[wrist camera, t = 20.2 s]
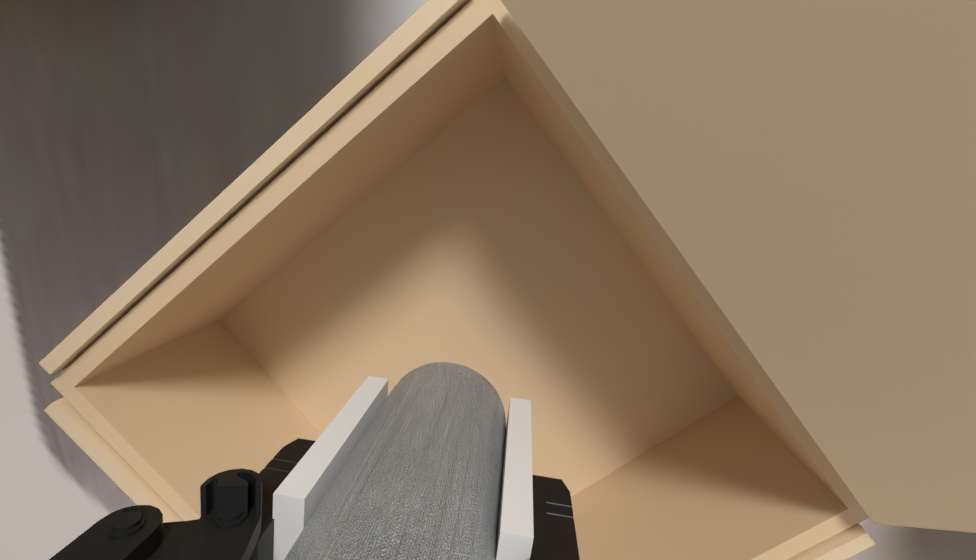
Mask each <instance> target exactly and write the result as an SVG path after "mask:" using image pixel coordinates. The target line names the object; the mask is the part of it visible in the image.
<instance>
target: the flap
mask: <svg viewBox="0 0 976 560" xmlns="http://www.w3.org/2000/svg"><path fill="white" fill-rule="evenodd" d="M501 2H502V3H503V5H504V6H505V7H506V9H507V10H508V12H509V13H510V14H511V16H512V17H513V19H514V20H515V21H516V23H517V24H518V26H519V27H520V28H521V30H522V31H523V33H524V34H525V35H526V37H527V38H528V40H529V41H530V42H531V44H532V45H533V47H534V48H535V49H536V51H537V52H538V54H539V55H540V57H541V58H542V59H543V61H544V62H545V64H546V65H547V66H548V68H549V69H550V71H551V72H552V73H553V75H554V76H555V78H556V79H557V80H558V82H559V83H560V85H561V86H562V87H563V89H564V90H565V92H566V93H567V94H568V96H569V97H570V99H571V100H572V101H573V103H574V104H575V106H576V107H577V108H578V110H579V111H580V113H581V114H582V115H583V117H584V118H585V120H586V121H587V122H588V124H589V125H590V127H591V128H592V129H593V131H594V132H595V134H596V135H597V136H598V138H599V139H600V141H601V142H602V143H603V145H604V146H605V148H606V149H607V150H608V152H609V153H610V155H611V156H612V157H613V159H614V160H615V162H616V163H617V164H618V166H619V167H620V169H621V170H622V171H623V173H624V174H625V176H626V177H627V179H628V180H629V181H630V183H631V184H632V186H633V187H634V188H635V190H636V191H637V193H638V194H639V195H640V197H641V198H642V200H643V201H644V202H645V204H646V205H647V207H648V208H649V209H650V211H651V212H652V214H653V215H654V216H655V218H656V219H657V221H658V222H659V223H660V225H661V226H662V228H663V229H664V230H665V232H666V233H667V235H668V236H669V237H670V239H671V240H672V242H673V243H674V244H675V246H676V247H677V249H678V250H679V251H680V253H681V254H682V256H683V257H684V258H685V260H686V261H687V263H688V264H689V265H690V267H691V268H692V270H693V271H694V272H695V274H696V275H697V277H698V278H699V279H700V281H701V282H702V284H703V285H704V286H705V288H706V289H707V291H708V292H709V294H710V295H711V296H712V298H713V299H714V301H715V302H716V303H717V305H718V306H719V308H720V309H721V310H722V312H723V313H724V315H725V316H726V317H727V319H728V320H729V322H730V323H731V324H732V326H733V327H734V329H735V330H736V331H737V333H738V334H739V336H740V337H741V338H742V340H743V341H744V343H745V344H746V345H747V347H748V348H749V350H750V351H751V352H752V354H753V355H754V357H755V358H756V359H757V361H758V362H759V364H760V365H761V366H762V368H763V369H764V371H765V372H766V373H767V375H768V376H769V378H770V379H771V380H772V382H773V383H774V385H775V386H776V387H777V389H778V390H779V392H780V393H781V394H782V396H783V397H784V399H785V400H786V401H787V403H788V404H789V406H790V407H791V408H792V410H793V411H794V413H795V414H796V416H797V417H798V418H799V420H800V421H801V423H802V424H803V425H804V427H805V428H806V430H807V431H808V432H809V434H810V435H811V437H812V438H813V439H814V441H815V442H816V444H817V445H818V446H819V448H820V449H821V451H822V452H823V453H824V455H825V456H826V458H827V459H828V460H829V462H830V463H831V465H832V466H833V467H834V469H835V470H836V472H837V473H838V474H839V476H840V477H841V479H842V480H843V481H844V483H845V484H846V486H847V487H848V488H849V490H850V491H851V493H852V494H853V495H854V497H855V498H856V500H857V501H858V502H859V504H860V505H861V507H862V508H863V509H864V511H865V512H866V514H867V515H868V516H869V518H870V519H871V521H872V522H873V523H874V524H882V525H893V526H904V527H916V528H927V529H938V530H949V531H960V532H971V533H976V0H501Z"/></svg>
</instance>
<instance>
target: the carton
mask: <svg viewBox="0 0 976 560" xmlns="http://www.w3.org/2000/svg"><path fill="white" fill-rule="evenodd" d="M435 362H450V363H456V364H460V365H463V366H466V367H469V368H471V369H473V370H475V371H476V372H478V373H480V374H481V375H482V376H484V377H485V378H486V379H487V380H488V381H489V382H490V383H491V384H492V385H493V386H494V388H495V389H496V391H497V392H498V394H499V396H500V398H501V400H502V403H503V406H504V410H505V418H506V424H507V417H508V410H509V403H510V397H512V398H518V399H525V400H531V430H532V475H538V476H544V477H550V478H556V479H562V481H563V482H564V484H565V485H566V487H567V488H568V490H569V491H570V495H571V502H572V509H573V519H574V523H575V530H576V537H577V544H578V551H579V559H580V560H845V559H847V558H849V557H851V556H853V555H855V554H857V553H859V552H861V551H863V550H865V549H867V548H869V547H871V546H873V545H875V542H874V541H873V540H872V538H871V537H870V535H869V534H868V533H867V532H866V531H865V530H864V529H863V527H862V526H861V525H860V524H859V522H861V521H863V520H865V519H867V518H869V516H868V515H867V514H866V512H865V511H864V509H863V508H862V507H861V505H860V504H859V502H858V501H857V500H856V498H855V497H854V495H853V494H852V493H851V491H850V490H849V488H848V487H847V486H846V484H845V483H844V481H843V480H842V479H841V477H840V476H839V474H838V473H837V472H836V470H835V469H834V467H833V466H832V465H831V463H830V462H829V460H828V459H827V458H826V456H825V455H824V453H823V452H822V451H821V449H820V448H819V446H818V445H817V444H816V442H815V441H814V439H813V438H812V437H811V435H810V434H809V432H808V431H807V430H806V428H805V427H804V425H803V424H802V423H801V421H800V420H799V418H798V417H797V416H796V414H795V413H794V411H793V410H792V408H791V407H790V406H789V404H788V403H787V401H786V400H785V399H784V397H783V396H782V394H781V393H780V392H779V390H778V389H777V387H776V386H775V385H774V383H773V382H772V380H771V379H770V378H769V376H768V375H767V373H766V372H765V371H764V369H763V368H762V366H761V365H760V364H759V362H758V361H757V359H756V358H755V357H754V355H753V354H752V352H751V351H750V350H749V348H748V347H747V345H746V344H745V343H744V341H743V340H742V338H741V337H740V336H739V334H738V333H737V331H736V330H735V329H734V327H733V326H732V324H731V323H730V322H729V320H728V319H727V317H726V316H725V315H724V313H723V312H722V310H721V309H720V308H719V306H718V305H717V303H716V302H715V301H714V299H713V298H712V296H711V295H710V294H709V292H708V291H707V289H706V288H705V286H704V285H703V284H702V282H701V281H700V279H699V278H698V277H697V275H696V274H695V272H694V271H693V270H692V268H691V267H690V265H689V264H688V263H687V261H686V260H685V258H684V257H683V256H682V254H681V253H680V251H679V250H678V249H677V247H676V246H675V244H674V243H673V242H672V240H671V239H670V237H669V236H668V235H667V233H666V232H665V230H664V229H663V228H662V226H661V225H660V223H659V222H658V221H657V219H656V218H655V216H654V215H653V214H652V212H651V211H650V209H649V208H648V207H647V205H646V204H645V202H644V201H643V200H642V198H641V197H640V195H639V194H638V193H637V191H636V190H635V188H634V187H633V186H632V184H631V183H630V181H629V180H628V179H627V177H626V176H625V174H624V173H623V171H622V170H621V169H620V167H619V166H618V164H617V163H616V162H615V160H614V159H613V157H612V156H611V155H610V153H609V152H608V150H607V149H606V148H605V146H604V145H603V143H602V142H601V141H600V139H599V138H598V136H597V135H596V134H595V132H594V131H593V129H592V128H591V127H590V125H589V124H588V122H587V121H586V120H585V118H584V117H583V115H582V114H581V113H580V111H579V110H578V108H577V107H576V106H575V104H574V103H573V101H572V100H571V99H570V97H569V96H568V94H567V93H566V92H565V90H564V89H563V87H562V86H561V85H560V83H559V82H558V80H557V79H556V78H555V76H554V75H553V73H552V72H551V71H550V69H549V68H548V66H547V65H546V64H545V62H544V61H543V59H542V58H541V57H540V55H539V54H538V52H537V51H536V49H535V48H534V47H533V45H532V44H531V42H530V41H529V40H528V38H527V37H526V35H525V34H524V33H523V31H522V30H521V28H520V27H519V26H518V24H517V23H516V21H515V20H514V19H513V17H512V16H511V14H510V13H509V12H508V10H507V9H506V7H505V6H504V5H503V3H502V2H501V0H428V1H427V2H425V3H424V4H423V5H422V6H421V7H420V8H419V9H418V10H417V11H416V12H415V13H414V14H413V15H411V16H410V17H409V18H408V19H407V20H406V21H405V22H404V23H403V24H402V25H401V26H400V27H399V28H398V29H396V30H395V31H394V32H393V33H392V34H391V35H390V36H389V37H388V38H387V39H386V40H385V41H384V42H383V43H381V44H380V45H379V46H378V47H377V48H376V49H375V50H374V51H373V52H372V53H371V54H370V55H369V56H367V57H366V58H365V59H364V60H363V61H362V62H361V63H360V64H359V65H358V66H357V67H356V68H355V69H354V70H352V71H351V72H350V73H349V74H348V75H347V76H346V77H345V78H344V79H343V80H342V81H341V82H340V83H339V84H337V85H336V86H335V87H334V88H333V89H332V90H331V91H330V92H329V93H328V94H327V95H326V96H325V97H323V98H322V99H321V100H320V101H319V102H318V103H317V104H316V105H315V106H314V107H313V108H312V109H311V110H310V111H308V112H307V113H306V114H305V115H304V116H303V117H302V118H301V119H300V120H299V121H298V122H297V123H296V124H295V125H293V126H292V127H291V128H290V129H289V130H288V131H287V132H286V133H285V134H284V135H283V136H282V137H281V138H279V139H278V140H277V141H276V142H275V143H274V144H273V145H272V146H271V147H270V148H269V149H268V150H267V151H266V152H264V153H263V154H262V155H261V156H260V157H259V158H258V159H257V160H256V161H255V162H254V163H253V164H252V165H251V166H249V167H248V168H247V169H246V170H245V171H244V172H243V173H242V174H241V175H240V176H239V177H238V178H237V179H235V180H234V181H233V182H232V183H231V184H230V185H229V186H228V187H227V188H226V189H225V190H224V191H223V192H222V193H220V194H219V195H218V196H217V197H216V198H215V199H214V200H213V201H212V202H211V203H210V204H209V205H208V206H207V207H205V208H204V209H203V210H202V211H201V212H200V213H199V214H198V215H197V216H196V217H195V218H194V219H193V220H191V221H190V222H189V223H188V224H187V225H186V226H185V227H184V228H183V229H182V230H181V231H180V232H179V233H178V234H176V235H175V236H174V237H173V238H172V239H171V240H170V241H169V242H168V243H167V244H166V245H165V246H164V247H163V248H161V249H160V250H159V251H158V252H157V253H156V254H155V255H154V256H153V257H152V258H151V259H150V260H149V261H147V262H146V263H145V264H144V265H143V266H142V267H141V268H140V269H139V270H138V271H137V272H136V273H135V274H134V275H132V276H131V277H130V278H129V279H128V280H127V281H126V282H125V283H124V284H123V285H122V286H121V287H120V288H119V289H117V290H116V291H115V292H114V293H113V294H112V295H111V296H110V297H109V298H108V299H107V300H106V301H105V302H104V303H102V304H101V305H100V306H99V307H98V308H97V309H96V310H95V311H94V312H93V313H92V314H91V315H90V316H88V317H87V318H86V319H85V320H84V321H83V322H82V323H81V324H80V325H79V326H78V327H77V328H76V329H75V330H73V331H72V332H71V333H70V334H69V335H68V336H67V337H66V338H65V339H64V340H63V341H62V342H61V343H60V344H58V345H57V346H56V347H55V348H54V349H53V350H52V351H51V352H50V353H49V354H48V355H47V356H46V357H44V358H43V359H42V360H41V361H40V362H39V364H40V365H41V366H42V367H43V368H44V369H45V370H46V371H47V373H48V374H49V375H50V374H53V373H55V372H58V371H60V370H62V369H65V368H66V369H65V370H64V371H63V372H62V373H61V374H60V375H59V376H57V377H56V378H55V379H54V380H53V381H52V382H51V384H52V385H53V386H54V387H55V388H56V389H57V390H58V391H59V392H60V393H61V395H62V396H63V398H60V399H58V400H56V401H54V402H52V403H51V404H50V405H49V406H48V407H47V408H46V409H44V411H45V412H46V413H47V414H48V415H49V416H50V417H51V418H52V419H53V420H54V421H55V422H56V423H57V424H58V425H59V426H60V427H61V428H62V429H63V430H64V431H65V432H66V434H67V435H68V436H69V437H70V438H71V439H72V440H73V441H74V442H75V443H76V444H77V445H78V446H79V447H80V448H81V449H82V450H83V451H84V452H85V453H86V454H87V455H88V456H89V457H90V458H91V459H92V460H93V461H94V462H95V463H96V464H97V465H98V466H99V467H100V468H101V469H102V470H103V471H104V472H105V473H106V474H107V475H108V476H109V477H110V478H111V479H112V480H113V481H114V482H115V483H116V484H117V485H118V486H119V487H120V488H121V489H122V490H123V491H124V492H125V493H126V494H127V495H128V496H129V497H130V498H131V499H132V501H133V502H134V503H135V504H136V505H151V506H154V507H156V508H159V509H160V511H161V512H162V514H163V523H166V522H178V521H190V520H196V519H200V517H201V503H200V486H201V485H202V484H203V483H204V482H205V481H206V480H207V479H208V478H210V477H212V476H214V475H216V474H217V473H220V472H224V471H227V470H231V469H241V468H242V469H249V470H253V471H255V472H257V473H260V472H261V470H262V469H265V466H266V465H267V464H268V463H269V462H270V461H271V460H273V457H274V456H275V455H276V454H277V453H278V452H279V451H280V450H281V449H282V448H283V447H284V446H285V445H287V444H289V443H291V442H293V441H294V440H296V439H298V438H300V439H306V440H313V441H316V440H317V439H318V438H319V436H320V435H321V434H322V433H323V432H324V430H325V429H326V428H327V427H328V425H329V424H330V423H331V422H332V421H333V419H334V418H335V417H336V416H337V414H338V413H339V412H340V411H341V409H342V408H343V407H344V406H345V405H346V403H347V402H348V401H349V400H350V398H351V397H352V396H353V395H354V393H355V392H356V391H357V390H358V389H359V387H360V386H361V385H362V384H363V382H364V381H365V380H366V379H367V377H368V376H374V377H380V378H387V379H389V382H388V394H387V397H388V395H389V394H390V392H391V391H392V389H393V388H394V387H395V386H396V384H397V383H398V382H399V381H400V380H401V378H403V377H404V376H405V375H406V374H407V373H409V372H410V371H412V370H413V369H415V368H417V367H420V366H422V365H425V364H429V363H435Z"/></svg>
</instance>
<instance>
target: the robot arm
mask: <svg viewBox="0 0 976 560" xmlns="http://www.w3.org/2000/svg"><path fill="white" fill-rule="evenodd" d="M388 382H389V379H387V378H380V377H374V376H368V377H367V379H366V380H365V381H364V382H363V384H362V385H361V386H360V387H359V389H358V390H357V391H356V392H355V393H354V395H353V396H352V397H351V398H350V400H349V401H348V402H347V403H346V405H345V406H344V407H343V408H342V409H341V411H340V412H339V413H338V414H337V416H336V417H335V418H334V419H333V421H332V422H331V423H330V424H329V425H328V427H327V428H326V429H325V430H324V432H323V433H322V434H321V435H320V436H319V438H318V439H317V440H316V441H313V440H306V439H300V438H298V439H296V440H294V441H293V442H291V443H289V444H287V445H285V446H284V447H283V448H282V449H281V450H280V451H279V452H278V453H277V454H276V455H275V456H274V457H273V460H271V461H270V462H269V463H268V464H267V465H266V466H265V469H262V470H261V472H260V473H257V472H255V471H253V470H249V469H242V468H241V469H231V470H227V471H224V472H220V473H217V474H216V475H214V476H212V477H210V478H208V479H207V480H206V481H205V482H204V483H203V484H202V485H201V486H200V503H201V517H200V519H196V520H190V521H178V522H166V523H163V514H162V512H161V511H160V509H159V508H156V507H154V506H151V505H136V506H131V507H126V508H123V509H120V510H118V511H115V512H113V513H111V514H109V515H107V516H106V517H104V518H103V519H101V520H100V521H98V522H97V523H95V524H94V525H93V526H92V527H90V528H89V529H88V530H87V531H85V532H84V533H83V534H81V535H80V536H79V537H78V538H76V539H75V540H74V541H73V542H71V543H70V544H69V545H67V546H66V547H65V548H64V549H62V550H61V551H60V552H59V553H57V554H56V555H55V556H53V557H52V558H51V559H50V560H284V559H285V557H286V556H287V554H288V553H289V551H290V549H291V548H292V546H293V545H294V543H295V542H296V540H297V538H298V537H299V535H300V534H301V532H302V531H303V529H304V527H305V526H306V524H307V523H308V521H309V520H310V518H311V516H312V515H313V513H314V512H315V510H316V509H317V507H318V505H319V504H320V502H321V501H322V499H323V498H324V496H325V494H326V493H327V491H328V490H329V488H330V487H331V485H332V483H333V482H334V480H335V479H336V477H337V476H338V474H339V472H340V471H341V469H342V468H343V466H344V465H345V463H346V461H347V460H348V458H349V457H350V455H351V453H352V452H353V450H354V449H355V447H356V446H357V444H358V442H359V441H360V439H361V438H362V436H363V435H364V433H365V431H366V430H367V428H368V427H369V425H370V424H371V422H372V420H373V419H374V417H375V416H376V414H377V413H378V411H379V409H380V408H381V406H382V405H383V403H384V402H385V400H386V398H387V394H388ZM495 560H580V559H579V551H578V544H577V537H576V530H575V523H574V519H573V509H572V502H571V495H570V491H569V490H568V488H567V487H566V485H565V484H564V482H563V481H562V479H556V478H550V477H544V476H538V475H532V430H531V400H525V399H518V398H512V397H510V403H509V410H508V417H507V424H506V434H505V447H504V459H503V472H502V484H501V497H500V509H499V522H498V534H497V547H496V559H495Z"/></svg>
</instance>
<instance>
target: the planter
mask: <svg viewBox="0 0 976 560" xmlns="http://www.w3.org/2000/svg"><path fill="white" fill-rule="evenodd" d="M505 434H506V418H505V410H504V406H503V403H502V400H501V398H500V396H499V394H498V392H497V391H496V389H495V388H494V386H493V385H492V384H491V383H490V382H489V381H488V380H487V379H486V378H485V377H484V376H482V375H481V374H480V373H478V372H476V371H475V370H473V369H471V368H469V367H466V366H463V365H460V364H456V363H450V362H435V363H429V364H425V365H422V366H420V367H417V368H415V369H413V370H412V371H410V372H409V373H407V374H406V375H405V376H404V377H403V378H401V380H400V381H399V382H398V383H397V384H396V386H395V387H394V388H393V389H392V391H391V392H390V394H389V395H388V397H387V398H386V400H385V402H384V403H383V405H382V406H381V408H380V409H379V411H378V413H377V414H376V416H375V417H374V419H373V420H372V422H371V424H370V425H369V427H368V428H367V430H366V431H365V433H364V435H363V436H362V438H361V439H360V441H359V442H358V444H357V446H356V447H355V449H354V450H353V452H352V453H351V455H350V457H349V458H348V460H347V461H346V463H345V465H344V466H343V468H342V469H341V471H340V472H339V474H338V476H337V477H336V479H335V480H334V482H333V483H332V485H331V487H330V488H329V490H328V491H327V493H326V494H325V496H324V498H323V499H322V501H321V502H320V504H319V505H318V507H317V509H316V510H315V512H314V513H313V515H312V516H311V518H310V520H309V521H308V523H307V524H306V526H305V527H304V529H303V531H302V532H301V534H300V535H299V537H298V538H297V540H296V542H295V543H294V545H293V546H292V548H291V549H290V551H289V553H288V554H287V556H286V557H285V559H284V560H495V559H496V547H497V534H498V522H499V509H500V497H501V484H502V472H503V459H504V447H505Z"/></svg>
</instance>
